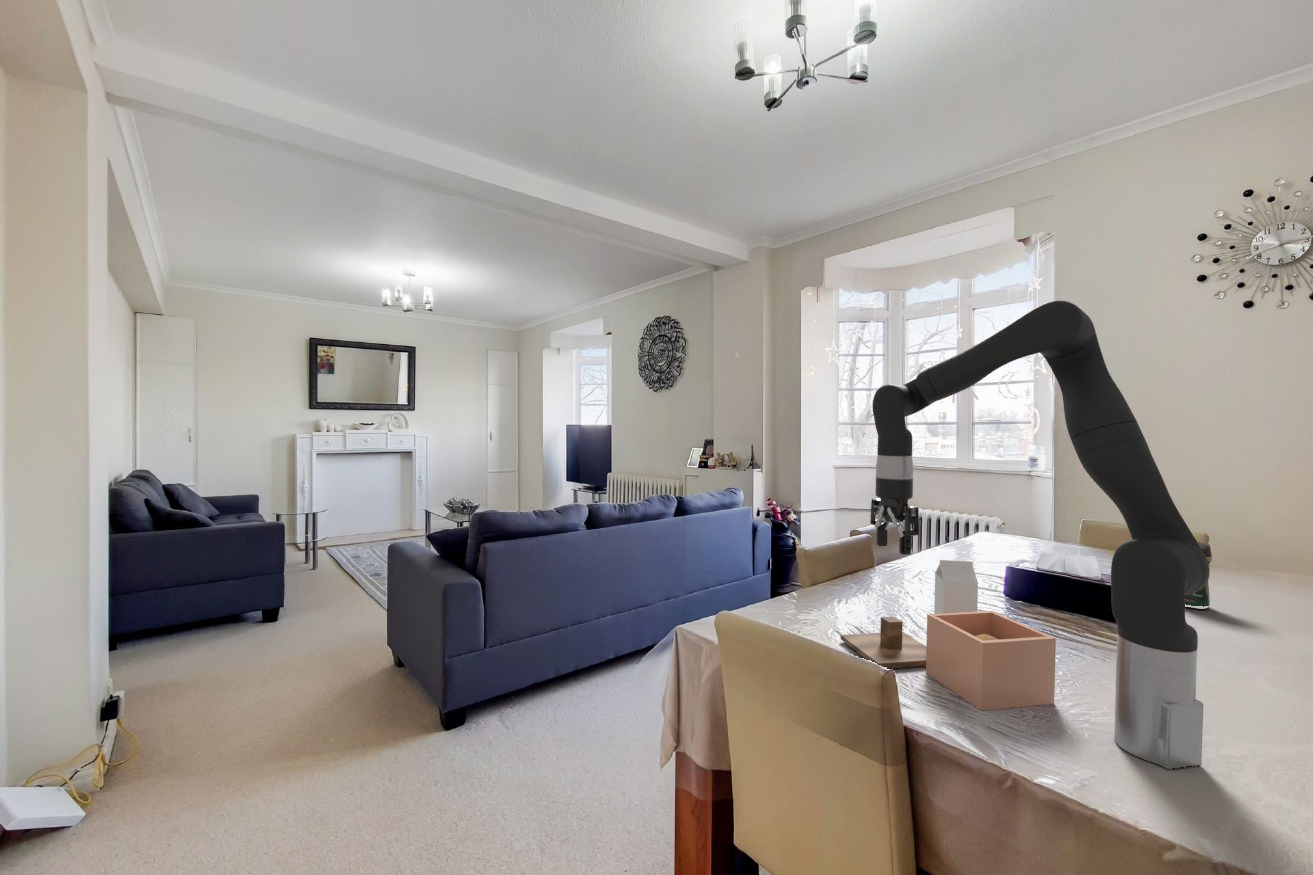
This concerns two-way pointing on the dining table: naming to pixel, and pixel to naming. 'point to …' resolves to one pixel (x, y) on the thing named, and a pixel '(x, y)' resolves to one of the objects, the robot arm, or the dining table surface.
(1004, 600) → the dining table surface
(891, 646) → the lid
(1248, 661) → the dining table surface
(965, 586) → the milk carton
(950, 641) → the tan open box
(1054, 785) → the dining table surface
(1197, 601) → the coffee jar
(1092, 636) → the dining table surface
